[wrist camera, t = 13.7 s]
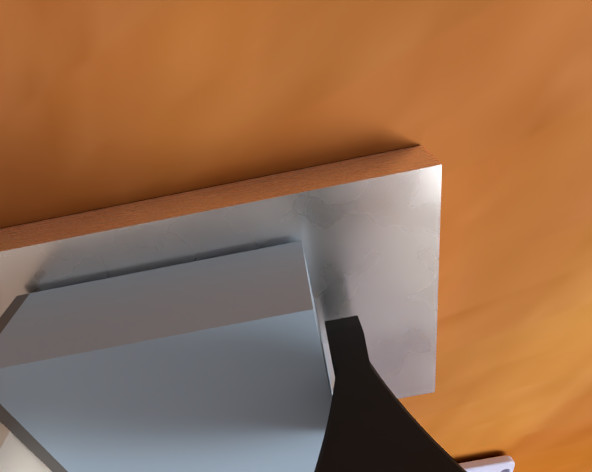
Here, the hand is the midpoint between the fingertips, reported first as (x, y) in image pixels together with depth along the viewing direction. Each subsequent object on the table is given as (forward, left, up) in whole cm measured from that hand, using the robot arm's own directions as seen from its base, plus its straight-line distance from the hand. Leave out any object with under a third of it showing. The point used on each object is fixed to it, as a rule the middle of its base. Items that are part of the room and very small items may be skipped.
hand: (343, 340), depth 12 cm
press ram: (0, +5, -1) cm, 5 cm away
